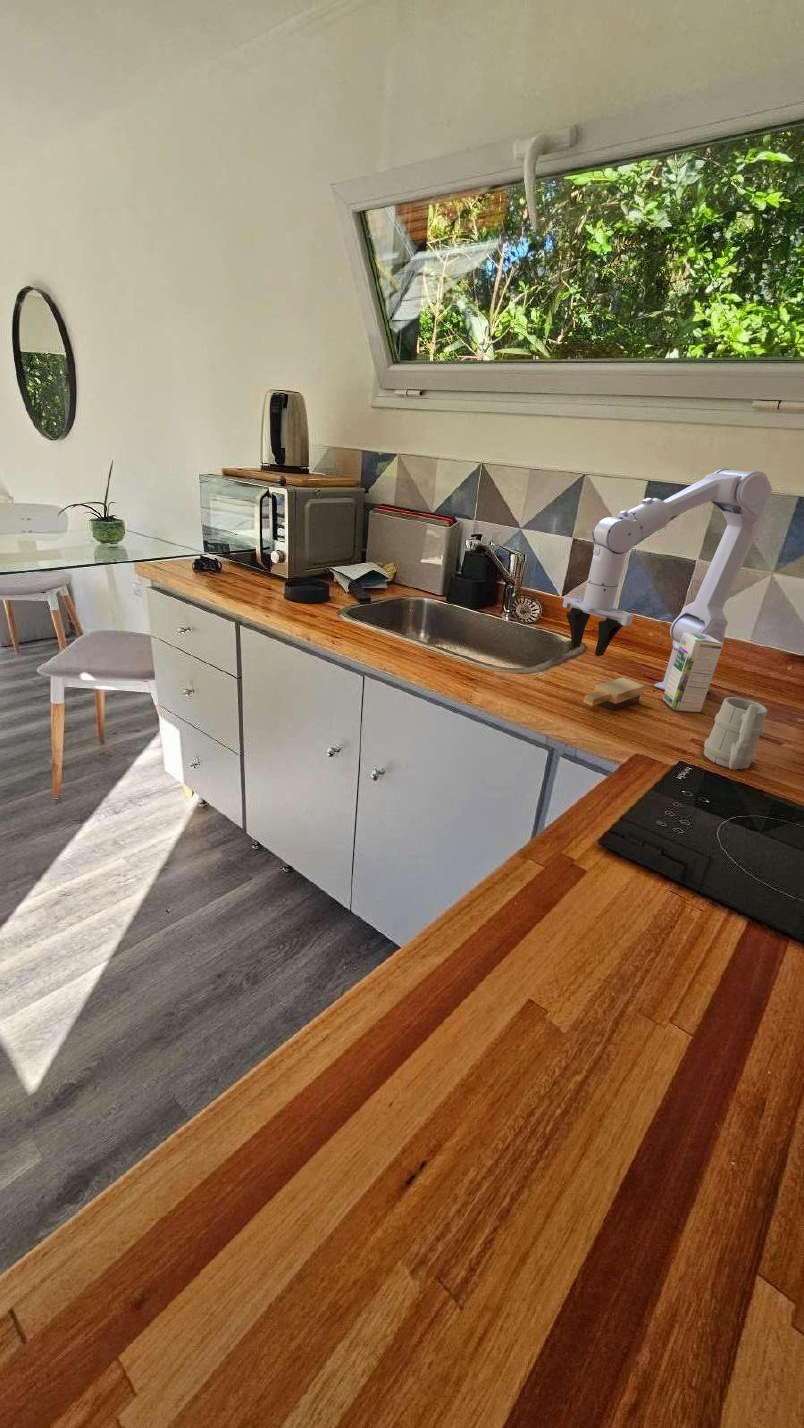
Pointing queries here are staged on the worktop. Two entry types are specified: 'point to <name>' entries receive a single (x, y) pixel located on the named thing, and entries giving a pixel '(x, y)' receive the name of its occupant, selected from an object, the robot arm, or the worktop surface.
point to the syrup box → (692, 672)
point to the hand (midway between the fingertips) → (587, 650)
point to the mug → (735, 733)
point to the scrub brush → (615, 693)
